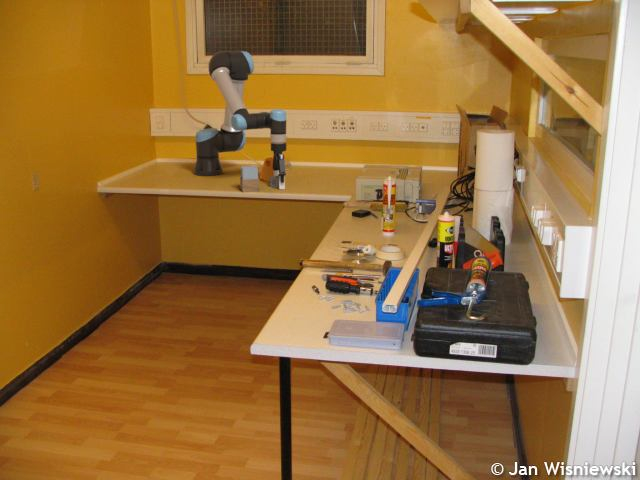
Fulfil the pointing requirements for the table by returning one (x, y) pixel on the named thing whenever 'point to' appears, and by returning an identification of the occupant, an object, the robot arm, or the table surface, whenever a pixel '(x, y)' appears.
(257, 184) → the tower bottom
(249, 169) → the tower top
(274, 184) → the dice cube
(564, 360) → the table surface
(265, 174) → the bracket
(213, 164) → the robot arm
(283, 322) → the table surface
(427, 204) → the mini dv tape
